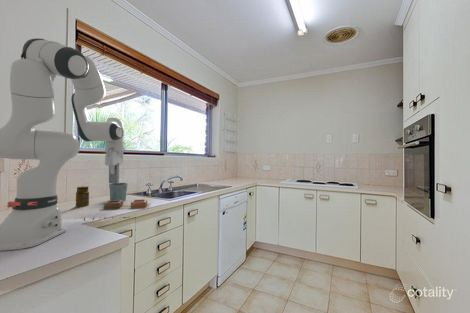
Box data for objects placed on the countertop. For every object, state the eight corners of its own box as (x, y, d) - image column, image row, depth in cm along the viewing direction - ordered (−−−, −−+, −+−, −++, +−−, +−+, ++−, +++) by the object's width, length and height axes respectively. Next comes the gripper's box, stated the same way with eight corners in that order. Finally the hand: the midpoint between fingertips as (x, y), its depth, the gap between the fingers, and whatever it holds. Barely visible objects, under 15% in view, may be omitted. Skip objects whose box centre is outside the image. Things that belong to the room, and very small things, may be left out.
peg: (116, 183, 118) (117, 162, 118) (108, 183, 117) (109, 162, 117) (118, 182, 122) (119, 162, 122) (111, 182, 121) (111, 162, 121)
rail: (148, 210, 118) (148, 202, 118) (98, 213, 112) (98, 204, 112) (150, 205, 130) (151, 198, 130) (106, 207, 124) (106, 199, 124)
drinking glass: (106, 204, 131) (106, 184, 131) (111, 201, 141) (112, 182, 141) (124, 204, 134) (125, 184, 134) (128, 200, 143) (129, 182, 143)
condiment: (89, 206, 127) (89, 185, 127) (90, 209, 120) (91, 187, 120) (73, 208, 122) (73, 186, 122) (74, 211, 115) (74, 188, 115)
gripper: (115, 147, 110) (115, 174, 110) (125, 149, 130) (124, 172, 130) (101, 147, 109) (101, 174, 109) (113, 148, 128) (113, 172, 128)
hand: (114, 173), depth 119 cm, fingers closed on peg, 4 cm apart
